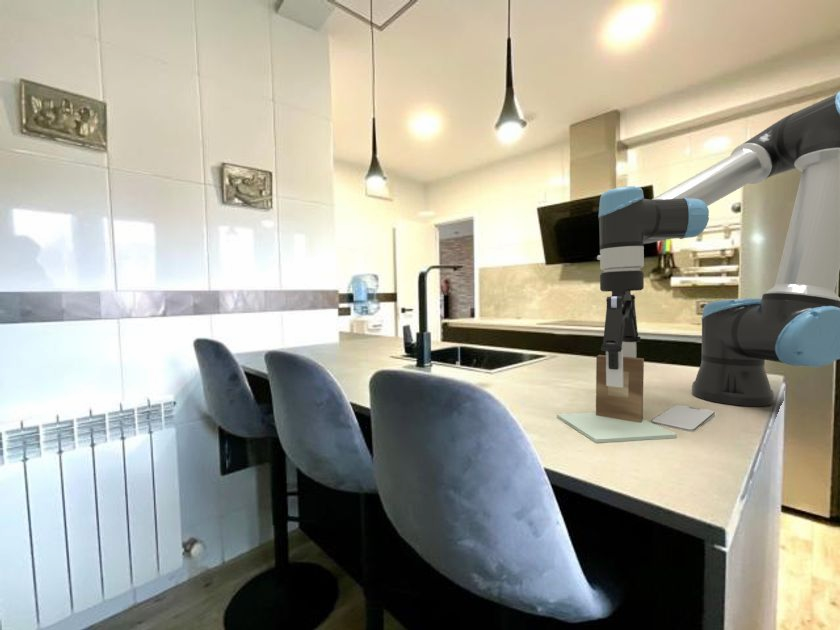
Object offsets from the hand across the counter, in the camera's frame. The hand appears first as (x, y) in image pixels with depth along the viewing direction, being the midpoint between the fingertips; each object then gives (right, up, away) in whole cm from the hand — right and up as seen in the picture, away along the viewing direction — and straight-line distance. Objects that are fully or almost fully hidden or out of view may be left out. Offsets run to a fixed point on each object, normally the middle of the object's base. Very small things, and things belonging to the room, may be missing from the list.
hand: (622, 379), depth 77 cm
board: (-1, -8, 0) cm, 8 cm away
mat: (-4, -9, -3) cm, 10 cm away
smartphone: (+13, -9, +1) cm, 16 cm away
